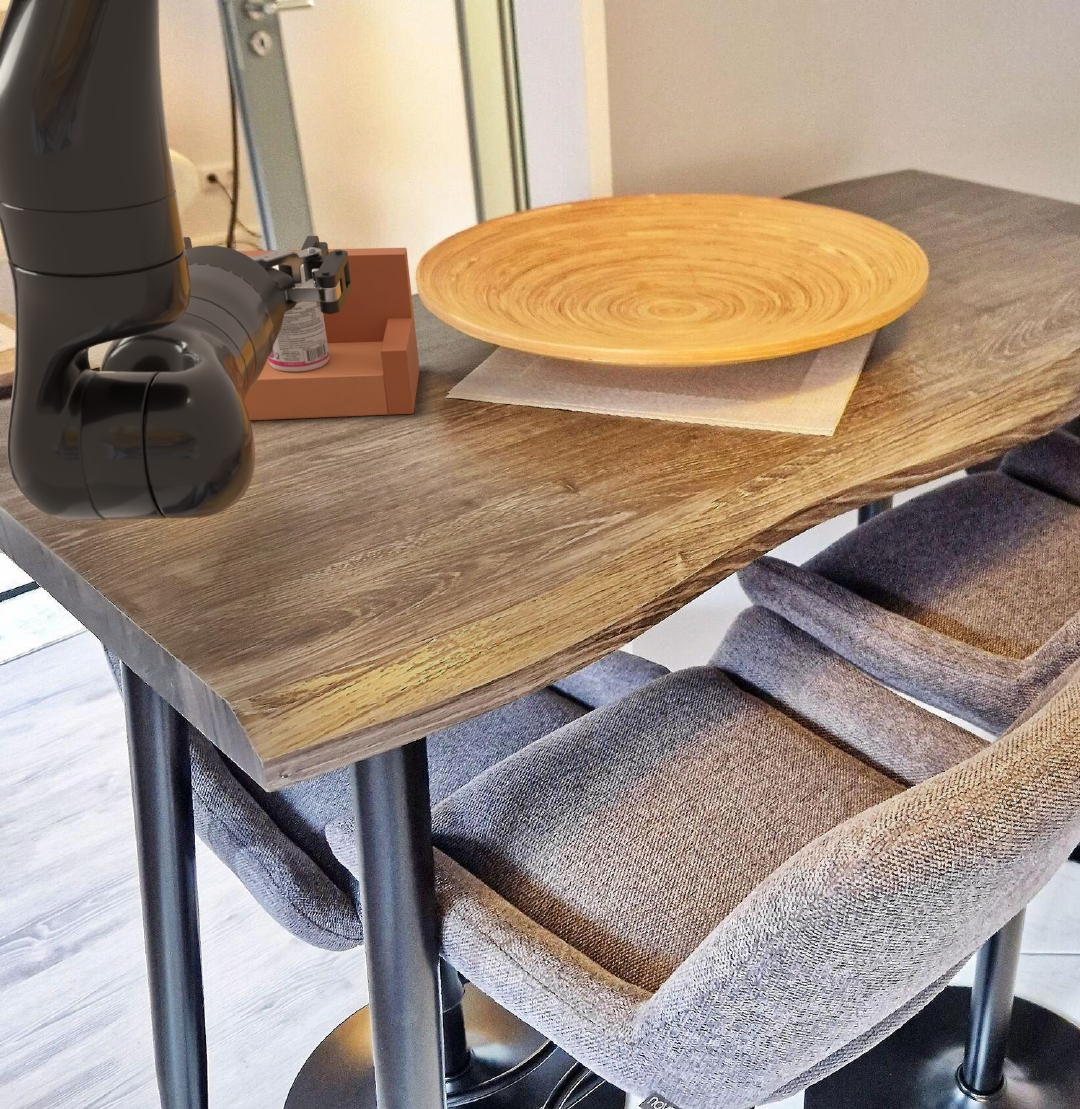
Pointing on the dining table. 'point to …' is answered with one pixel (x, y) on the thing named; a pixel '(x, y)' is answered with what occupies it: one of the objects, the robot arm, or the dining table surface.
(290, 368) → the pill bottle
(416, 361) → the couch
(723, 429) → the dining table surface
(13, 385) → the robot arm
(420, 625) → the dining table surface
